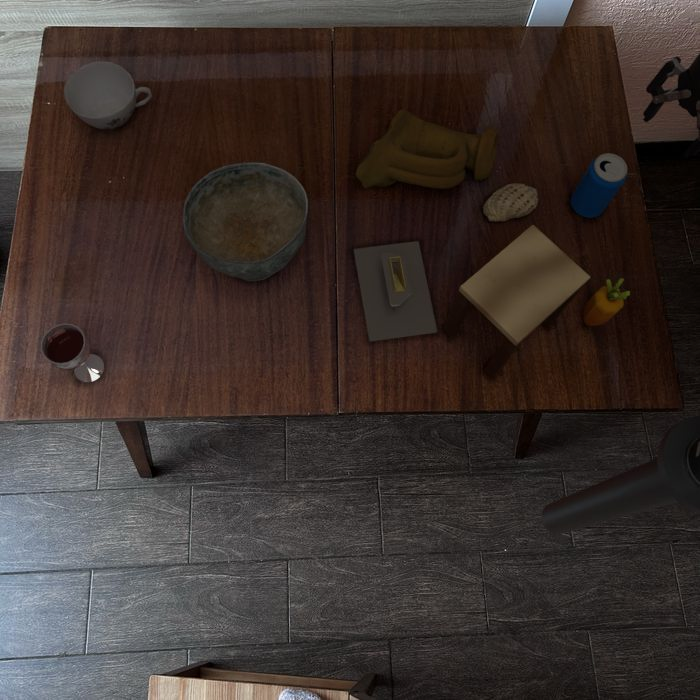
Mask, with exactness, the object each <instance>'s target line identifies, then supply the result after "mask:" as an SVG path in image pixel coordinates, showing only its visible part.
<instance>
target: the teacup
mask: <svg viewBox="0 0 700 700" xmlns="http://www.w3.org/2000/svg"><path fill="white" fill-rule="evenodd" d="M63 93H64V99H65V101H66V103H67V105H68V107H69V108H70V109H71V111H72V112H73V113H74V114H75V115H76V116H77V118H79V119H80V120H81V121H83V122H84V123H86V124H87V125H89V126H91V127H94V128H95V129H100V130H114V129H117V128H120V127H122V126H123V125H125V124H126V123H127V122H128V121H129V120H130V119H131V117H132V116H133V113H134V111H135V109H136V108H138V107H141V106H144V105H146V104H147V103H149V102H150V101H151V99H152V97H153V95H152V91H151V89H150V88H149V87H146V86H140V87H137V88H136V85H135V81H134V79H133V77H132V75H131V74H130V73H129V72H128V71H127V70H126V69H125V68H124V67H122V66H121V65H120V64H116V63H115V62H111V61H103V60H102V61H93V62H90V63H86V64H85V65H82V66H80V67H79V68H78V69H77V70H76V71H74V72H73V73H72V74H70V75H69V77H68V80H66V81H65V84H64V89H63ZM142 93H146V94H147V95H148V96H147V97H145V99H142V100H140V101H139V102H137V99H138V97H139V95H140V94H142Z"/></svg>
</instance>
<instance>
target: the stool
mask: <svg viewBox="0 0 700 700" xmlns="http://www.w3.org/2000/svg"><path fill="white" fill-rule="evenodd" d="M590 279H591V276H590V275H589V274H588V273H587V272H586V271H585V270H584V269H582V268H581V267H580V266H579V265H578V264H577V263H576V262H575V261H574V260H573V259H571V258H570V257H569V256H568V255H567V254H566V253H565V252H564V251H563V250H562V249H561V248H559V247H558V246H557V245H556V244H555V243H554V242H553V241H552V240H551V239H550V238H548V237H547V236H546V235H545V234H544V233H543V232H542V230H540V229H538V227H536V226H535V224H532V225H530V226H529V227H528V228H527V229H525V230H524V231H523V232H522V233H521V234H519V236H517V237H516V238H515V239H514V240H512V242H510V243H509V244H508V245H507V246H505V248H503V249H502V250H501V251H500V252H499V253H497V254H496V255H495V256H494V257H492V259H490V260H489V261H488V262H487V263H486V264H484V265H483V266H482V267H481V268H480V269H479V270H478V271H476V273H474V274H473V275H471V276H470V277H469V278H468V279H467V280H466V281H465V282H464V283H462V284H461V285H460V286H459V288H458V290H457V293H456V296H455V298H454V301H453V303H452V305H451V307H450V310H449V312H448V315H447V316H446V320H445V322H444V325H443V327H442V329H441V331H443V332H444V333H445V335H447V336H448V337H449V339H450V338H452V337H453V336H454V335H455V334H457V333H458V332H459V330H460V328H461V326H462V324H463V321H464V320H465V317H466V316H467V314H468V311H469V309H470V307H471V305H473V306H474V307H475V308H476V309H477V310H478V311H479V312H480V313H481V314H482V315H483V316H484V317H485V318H487V319H488V321H490V323H491V324H492V325H494V326H495V328H497V329H498V331H500V332H501V333H502V334H503V335H504V336H505V338H504V339H503V340H502V342H501V344H500V345H499V346H498V348H497V350H496V351H495V352H494V353H493V355H492V357H491V358H490V360H489V361H488V363H487V365H486V366H485V367H484V368H483V373H485V374H486V375H487V376H488V377H489V378H490V380H492V379H493V378H494V377H496V376H497V375H498V374H499V373H500V372H501V371H502V369H503V368H504V367H505V365H506V364H507V363H508V361H509V360H510V359H511V357H512V356H513V355H514V353H515V352H516V351H517V349H518V348H519V347H520V345H521V344H522V343H523V341H524V340H525V339H526V338H527V337H528V336H529V335H531V333H532V332H533V331H534V330H535V329H537V328H538V327H539V326H540V325H541V324H542V325H543V326H544V327H545V328H546V329H548V328H549V327H551V326H552V325H553V324H554V323H555V322H556V321H557V319H558V318H559V317H560V316H561V314H562V313H563V312H564V311H565V310H566V308H567V307H568V306H569V304H571V302H572V301H573V300H574V299H575V297H576V296H577V295H578V293H580V291H581V290H582V289H583V288H584V286H585V285H586V284H587V282H588V281H589V280H590Z"/></svg>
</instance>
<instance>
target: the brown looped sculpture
mask: <svg viewBox="0 0 700 700" xmlns="http://www.w3.org/2000/svg"><path fill="white" fill-rule="evenodd" d="M499 140H500V131H499V130H498V129H497V128H496V127H495V126H493V125H487V126H486V127H485V128H484V130H483V132H482V133H480V134H473V133H472V134H471V133H465V132H461V131H456V130H453V129H451V128H448V127H445V126H443V125H441V124H436V123H433V122H429V121H426V120H423V119H422V118H420V117H418V116H416V115H415V114H413V113H411V112H410V111H409V110H407V109H400V110H398V111H397V112H396V113H395V114H394V116H393V118H392V119H391V120H390V123H389V126H388V129H387V131H386V133H384V135H383V136H382V137H381V138H379V139H377V140H375V141H374V142H373V143H372V145H371V146H370V148H369V151H368V152H367V154H366V155H365V157H364V158H363V159H362V160H361V161H360V163H359V164H358V165H357V167H356V171H355V177H356V178H357V180H358V181H359V182H360V185H361V186H362V187H363V188H364V189H366V190H367V189H370V188H375V187H377V188H386V187H389V186H391V185H394V184H395V183H396V182H399V183H402V184H407V185H413V186H420V187H423V188H429V189H436V190H446V189H447V190H449V189H452V188H454V187H456V186H458V185H460V184H461V183H462V182H463V181H464V179H465V177H466V169H467V170H470V171H473V180H474V181H483V180H486V179H488V178H489V176H490V174H491V172H492V168H493V166H494V162H495V158H496V155H497V151H498V150H497V149H498V144H499Z"/></svg>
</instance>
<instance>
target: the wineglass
mask: <svg viewBox="0 0 700 700" xmlns="http://www.w3.org/2000/svg"><path fill="white" fill-rule="evenodd" d="M91 344H92V343H91V341H90V339H89V337H88V335H87V334H86V333H85V332H84V331H83V330H82V329H81V328H80V327H79V326H77V325H75V324H73V323H66V322H65V323H60V324H59V323H58V324H56V325H54V326H52V327H51V328H49V329H48V330H47V331H46V332H45V333H44V335H43V337H42V339H41V342H40V351H41V353H42V356H43V357H44V359H46V360H47V362H49V363H50V364H51V365H52V366H53V367H54V368H57V369H59V370H63V371H64V370H65V371H69V370H70V371H71V370H73V373H74V376H75V377H76V378H77V380H79V381H81V382H83V383H92V382H94V381H96V380H98V379H99V378H101V376H102V374H103V373H104V370H105V363H104V361H103V359H102V358H101V357H100V356H99V355H96V354H94V353H93V354H92V353H91V351H92V346H91Z"/></svg>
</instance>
